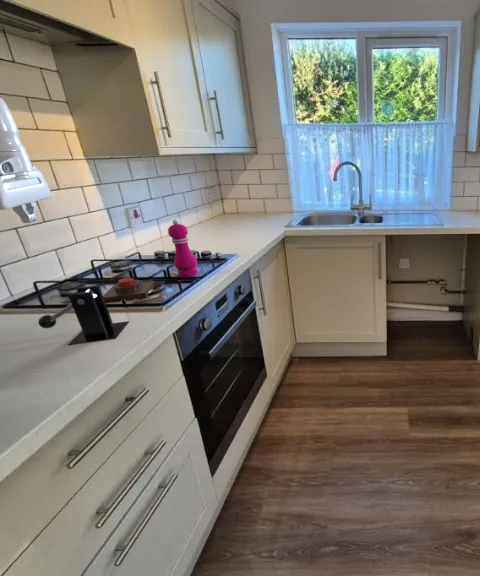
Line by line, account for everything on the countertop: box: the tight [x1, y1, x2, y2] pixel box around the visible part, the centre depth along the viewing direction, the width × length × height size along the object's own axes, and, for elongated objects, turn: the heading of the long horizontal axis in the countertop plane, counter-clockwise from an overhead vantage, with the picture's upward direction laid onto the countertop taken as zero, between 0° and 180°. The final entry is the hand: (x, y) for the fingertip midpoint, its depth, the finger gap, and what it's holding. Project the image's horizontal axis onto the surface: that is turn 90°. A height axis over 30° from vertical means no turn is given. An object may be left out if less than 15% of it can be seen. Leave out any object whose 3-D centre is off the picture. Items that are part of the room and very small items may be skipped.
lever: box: [37, 289, 97, 329], centre depth 87 cm, size 14×3×3 cm, turn 104°
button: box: [117, 277, 135, 287], centre depth 113 cm, size 4×4×2 cm
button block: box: [102, 279, 157, 304], centre depth 114 cm, size 12×10×4 cm
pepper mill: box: [167, 219, 199, 278], centre depth 127 cm, size 7×7×20 cm
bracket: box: [67, 284, 130, 346], centre depth 89 cm, size 10×9×13 cm
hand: (30, 221), depth 92 cm, fingers closed
